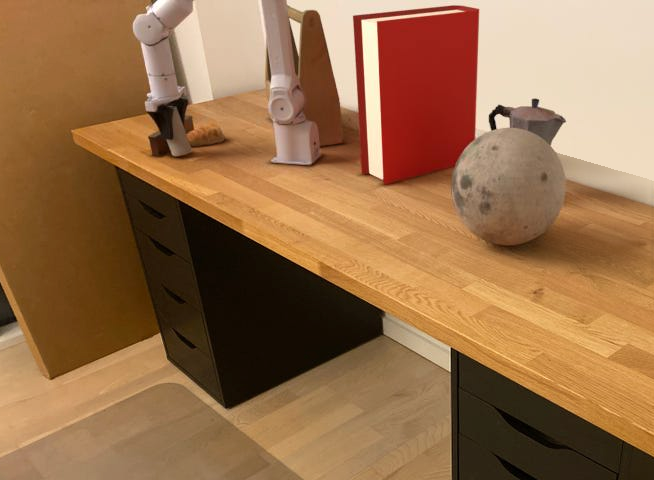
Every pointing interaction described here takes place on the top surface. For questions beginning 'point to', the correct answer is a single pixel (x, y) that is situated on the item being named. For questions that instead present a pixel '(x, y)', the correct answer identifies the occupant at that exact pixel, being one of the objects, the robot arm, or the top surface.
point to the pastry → (205, 135)
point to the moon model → (508, 186)
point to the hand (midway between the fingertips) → (173, 135)
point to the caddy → (314, 76)
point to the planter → (178, 136)
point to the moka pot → (530, 119)
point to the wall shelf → (160, 144)
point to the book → (415, 89)
